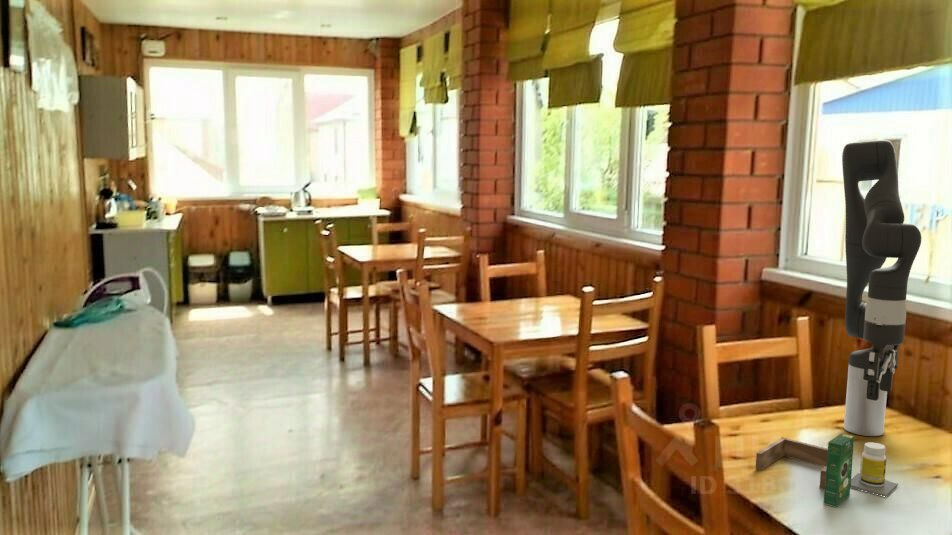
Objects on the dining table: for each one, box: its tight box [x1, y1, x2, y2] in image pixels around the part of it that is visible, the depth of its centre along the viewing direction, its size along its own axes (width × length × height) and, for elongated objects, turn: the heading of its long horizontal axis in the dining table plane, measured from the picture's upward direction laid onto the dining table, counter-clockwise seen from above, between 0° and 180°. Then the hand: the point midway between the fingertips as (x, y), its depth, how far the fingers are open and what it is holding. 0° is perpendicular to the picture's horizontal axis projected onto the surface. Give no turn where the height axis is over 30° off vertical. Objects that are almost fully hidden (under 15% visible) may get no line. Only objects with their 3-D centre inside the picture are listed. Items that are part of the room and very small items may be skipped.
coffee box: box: [822, 433, 855, 508], centre depth 158 cm, size 8×3×13 cm, turn 136°
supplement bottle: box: [859, 441, 887, 487], centre depth 165 cm, size 5×5×8 cm
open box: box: [755, 436, 828, 491], centre depth 173 cm, size 14×15×4 cm
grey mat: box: [850, 472, 899, 498], centre depth 165 cm, size 8×8×1 cm
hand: (878, 395), depth 163 cm, fingers open, 8 cm apart
